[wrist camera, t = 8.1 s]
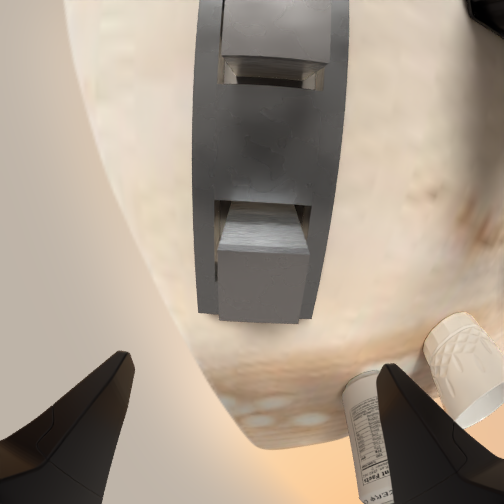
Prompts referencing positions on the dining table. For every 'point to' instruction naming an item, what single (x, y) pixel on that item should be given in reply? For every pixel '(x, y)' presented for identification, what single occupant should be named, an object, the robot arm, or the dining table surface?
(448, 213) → the dining table surface
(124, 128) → the dining table surface
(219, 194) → the rail
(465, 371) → the white cup
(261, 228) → the brushed grey metal block
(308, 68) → the grey metal rectangular block
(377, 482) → the energy drink can
